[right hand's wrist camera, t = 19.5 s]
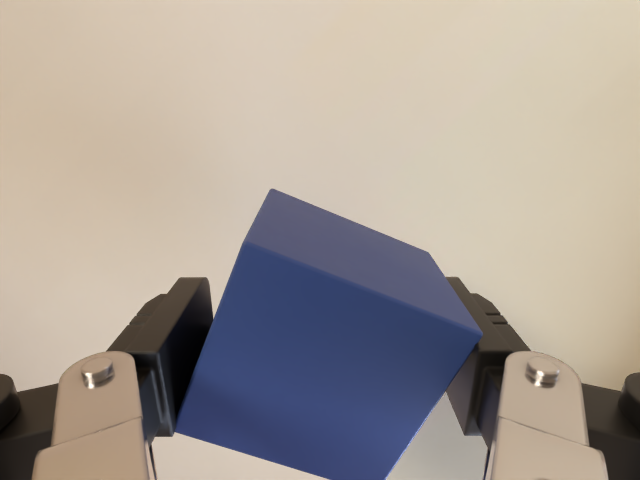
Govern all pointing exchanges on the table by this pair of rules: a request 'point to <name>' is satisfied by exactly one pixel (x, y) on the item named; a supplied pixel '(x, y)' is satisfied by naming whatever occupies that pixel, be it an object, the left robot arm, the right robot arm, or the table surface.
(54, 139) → the table surface
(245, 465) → the table surface
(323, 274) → the blue block
